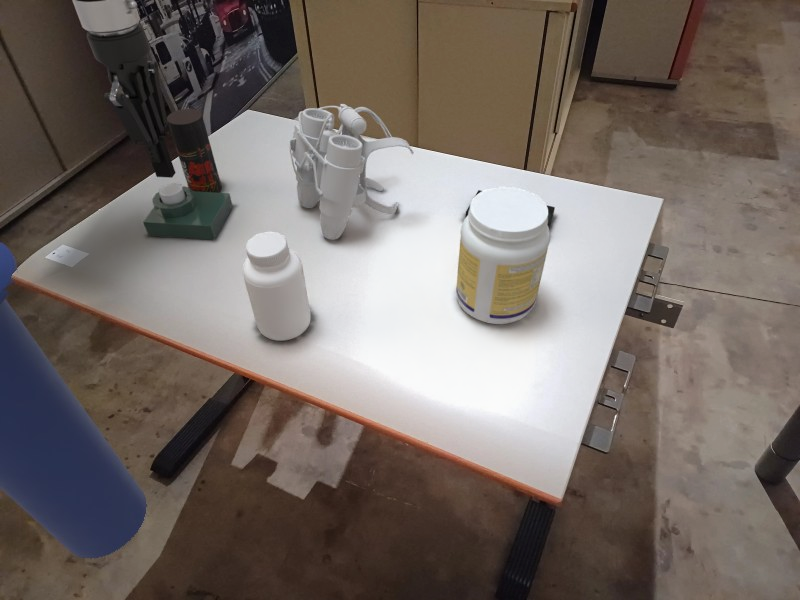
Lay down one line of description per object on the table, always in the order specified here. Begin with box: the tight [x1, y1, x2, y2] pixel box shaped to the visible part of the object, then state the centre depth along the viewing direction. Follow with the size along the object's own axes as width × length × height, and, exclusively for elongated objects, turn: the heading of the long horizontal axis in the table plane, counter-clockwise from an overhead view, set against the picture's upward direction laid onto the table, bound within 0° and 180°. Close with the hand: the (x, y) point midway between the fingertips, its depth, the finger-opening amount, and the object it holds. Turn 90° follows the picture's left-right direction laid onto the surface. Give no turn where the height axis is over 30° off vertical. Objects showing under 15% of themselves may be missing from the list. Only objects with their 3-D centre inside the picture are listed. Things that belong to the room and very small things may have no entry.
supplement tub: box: [455, 186, 551, 325], centre depth 79 cm, size 12×12×17 cm
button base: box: [142, 185, 234, 241], centre depth 98 cm, size 12×10×5 cm
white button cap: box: [158, 182, 186, 205], centre depth 96 cm, size 4×4×2 cm
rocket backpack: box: [289, 103, 415, 241], centre depth 96 cm, size 18×19×20 cm
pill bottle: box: [241, 231, 312, 342], centre depth 76 cm, size 8×8×15 cm
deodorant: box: [166, 108, 223, 193], centre depth 101 cm, size 6×6×15 cm
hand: (166, 174), depth 93 cm, fingers closed
